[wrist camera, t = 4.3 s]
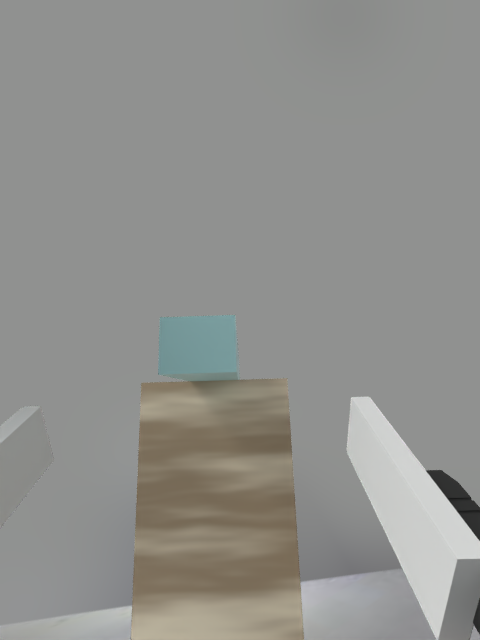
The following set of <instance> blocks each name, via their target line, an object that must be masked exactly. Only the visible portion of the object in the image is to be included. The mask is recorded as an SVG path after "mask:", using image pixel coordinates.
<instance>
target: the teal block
mask: <svg viewBox="0 0 480 640" xmlns="http://www.w3.org/2000/svg"><path fill="white" fill-rule="evenodd" d="M158 374H159V375H163V376H167V377H172V378H177V379H182V380H186V381H219V380H240V375H239V374H240V373H239V355H238V343H237V333H236V320H235V315H225V316H224V315H222V316H190V317H160V334H159V369H158Z"/></svg>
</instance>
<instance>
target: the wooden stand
mask: <svg viewBox="0 0 480 640" xmlns="http://www.w3.org/2000/svg"><path fill="white" fill-rule="evenodd" d="M287 385H288V384H287V378H283V379H252V380H219V381H187V382H155V383H142V384H141V408H140V431H139V432H140V433H139V455H138V456H139V457H138V481H137V505H136V528H135V529H136V530H135V553H134V577H133V601H132V625H131V640H304V633H303V618H302V602H301V587H300V571H299V556H298V540H297V524H296V509H295V494H294V477H293V462H292V446H291V430H290V416H289V399H288V386H287Z"/></svg>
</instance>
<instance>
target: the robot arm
mask: <svg viewBox="0 0 480 640" xmlns="http://www.w3.org/2000/svg"><path fill="white" fill-rule="evenodd" d="M347 454H348V456H349V457H350V460H351V462H352V464H353V466H354V468H355V470H356V472H357V475H358V476H359V478H360V481H361V483H362V485H363V487H364V489H365V491H366V493H367V495H368V498H369V500H370V502H371V504H372V506H373V508H374V510H375V512H376V514H377V516H378V518H379V520H380V523H381V525H382V527H383V529H384V531H385V533H386V535H387V537H388V539H389V541H390V544H391V546H392V548H393V550H394V552H395V554H396V556H397V558H398V560H399V562H400V564H401V567H402V569H403V571H404V573H405V575H406V577H407V579H408V581H409V583H410V585H411V588H412V590H413V592H414V594H415V596H416V598H417V600H418V602H419V604H420V606H421V608H422V611H423V613H424V615H425V617H426V619H427V621H428V623H429V625H430V627H431V629H432V631H433V634H434V636H435V638H436V640H470V636H471V633H472V629H473V626H475V627H476V629H477V631H478V632H479V634H480V507H479V506H478V505H477V504H476V503H475V502H474V501H472V500H471V497H470V496H469V495H468V493H467V492H466V491H465V490H464V489H463V488H462V486H461V485H460V484H459V483H458V482H457V481H455V480H454V479H453V478H451V477H450V476H449V475H447V474H446V473H444V472H443V471H442V470H430V471H426V470H425V469H424V468H423V467H422V465H421V464H420V463H419V461H418V460H417V459H416V457H415V456H414V455H413V453H412V452H411V451H410V449H409V448H408V447H407V445H406V444H405V443H404V441H403V440H402V439H401V438H400V436H399V435H398V434H397V432H396V431H395V430H394V428H393V427H392V426H391V424H390V423H389V422H388V421H387V419H386V418H385V417H384V415H383V414H382V413H381V412H380V410H379V409H378V407H377V406H376V405H375V404H374V402H373V401H372V400H371V398H370V397H351V405H350V416H349V428H348V440H347ZM53 461H54V457H53V453H52V449H51V445H50V441H49V437H48V433H47V429H46V426H45V421H44V417H43V413H42V409H41V407H40V406H38V407H22V408H21V409H20V410H19V411H17V412H16V413H15V414H14V415H13V416H11V417H10V418H9V419H8V420H7V421H6V422H4V423H3V424H2V425H1V426H0V529H1V527H2V526H3V525H4V523H5V522H6V521H7V520H8V518H9V517H10V516H11V515H12V513H13V512H14V511H15V509H16V508H17V507H18V506H19V504H20V503H21V502H22V501H23V499H24V498H25V497H26V495H27V494H28V493H29V491H30V490H31V489H32V488H33V486H34V485H35V483H37V481H38V480H39V479H40V478H41V476H42V475H43V474H44V472H45V471H46V470H47V468H48V467H49V466H50V465H51V463H52V462H53Z"/></svg>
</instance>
